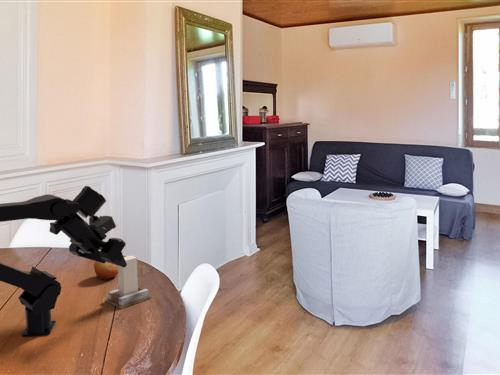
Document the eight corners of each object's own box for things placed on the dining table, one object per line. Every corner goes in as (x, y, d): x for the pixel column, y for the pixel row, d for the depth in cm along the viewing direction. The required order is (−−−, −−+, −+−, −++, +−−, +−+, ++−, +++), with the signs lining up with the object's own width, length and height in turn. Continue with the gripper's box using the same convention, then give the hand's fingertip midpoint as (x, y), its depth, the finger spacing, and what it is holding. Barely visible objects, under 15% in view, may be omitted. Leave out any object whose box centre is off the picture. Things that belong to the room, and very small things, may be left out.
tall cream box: (124, 301, 126) (123, 261, 124) (119, 298, 128) (117, 258, 126) (138, 296, 129) (136, 257, 127) (132, 293, 131) (131, 255, 129)
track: (120, 309, 122) (120, 300, 122) (106, 300, 128) (105, 291, 127) (151, 298, 129) (150, 290, 129) (136, 290, 135) (135, 282, 134)
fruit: (107, 265, 152) (113, 249, 148) (119, 281, 148) (125, 265, 145) (85, 272, 146) (91, 255, 142) (97, 289, 142) (104, 272, 138)
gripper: (118, 208, 114) (152, 244, 123) (77, 205, 125) (111, 238, 134) (92, 243, 108) (130, 277, 117) (51, 237, 119) (89, 268, 128)
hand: (115, 263), depth 124 cm, fingers open, 9 cm apart
